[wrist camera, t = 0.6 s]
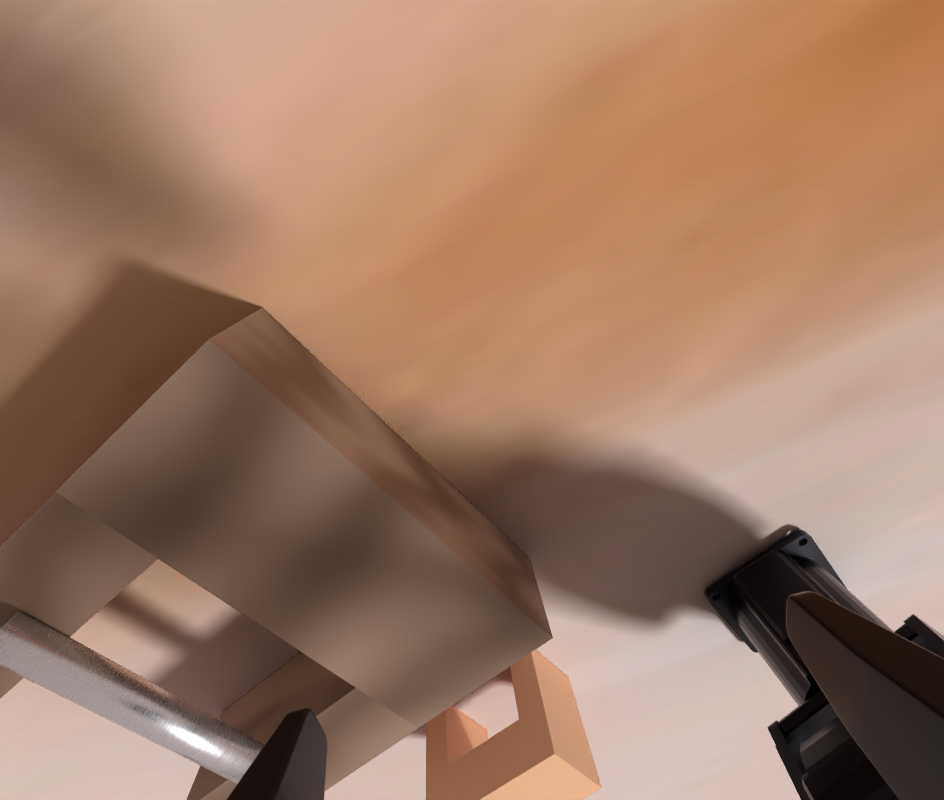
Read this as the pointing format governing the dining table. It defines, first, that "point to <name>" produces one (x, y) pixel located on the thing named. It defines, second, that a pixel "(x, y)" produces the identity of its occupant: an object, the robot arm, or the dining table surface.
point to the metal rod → (123, 697)
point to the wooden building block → (515, 745)
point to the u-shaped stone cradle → (288, 546)
